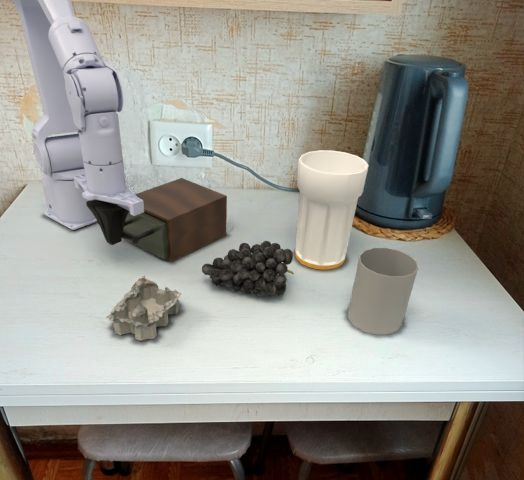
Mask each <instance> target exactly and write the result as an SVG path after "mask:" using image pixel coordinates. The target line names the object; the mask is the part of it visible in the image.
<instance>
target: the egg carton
mask: <svg viewBox="0 0 524 480" xmlns="http://www.w3.org/2000/svg"><path fill="white" fill-rule="evenodd" d="M181 295H182V292H179V291H178V290H176V289H174V290H172V289H170V288H169V287H168V286H165V287H164V289H161V288H159V285H158V283H156V282H155V281H153V280H150V279H148V278H146V276H145V275H143V276H141V278H140V277H139V278H138V279H137V280H136V281H135V282H134V283H133V285H131V289H130V291H128V292H126V293H125V295H124V296H123V298H122V299H121V300H120V301H119V302H117V303H116V304H115V306H114V307H113V309H112V311H110V314H108V315H107V316H105V318H106V319H109V321H111V322H112V328H113V329H114V334H116V335H119V336H122V335H124V334H133V335H134V337H135V338H134V339H135V340H136V341H140V342H141V341H145V340H154V339H155V338H156V337H157V335H158V333H157V328H158V327H166V326H167V325H168V324H169V315H177V314H178V313H179V312H180V303H179V302H180V300H179V298H180V297H181Z"/></svg>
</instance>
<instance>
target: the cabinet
mask: <svg viewBox="0 0 524 480" xmlns="http://www.w3.org/2000/svg"><path fill="white" fill-rule="evenodd" d="M134 194H135V195H136V196H137V197H138V198H140V199H142V200H143V203H144V212H147V213H149V214H151V215H153V216H155V217H157V218H160V219H162V220H164V221H166V222H167V231H168V246H169V257H168V258H166V259H165V260H166V261H169V263H174V262H175V261H178V260H180V259H182V258H185V257H186V256H188V255H190V254H192V253H193V252H196V251H199V250H200V249H202V248H205V247H206V246H208V245H210V244H212V243H215V242H217V241H219V240H220V239H223V238H225V237H227V225H228V224H227V219H228V218H227V216H228V215H227V213H228V211H227V209H228V196H227V195H225V194H224V193H221V192H219V191H216V190H213V189H211V188H208V187H206V186H203V185H201V184H199V183H196V182H193V181H191V180H188V179H186V178H184V177H180V178H177V179H175V180H172V181H169V182H165V183H163V184H161V185H157V186H155V187H151V188H149V189H146V190H144V191H140V192H137V193H134Z"/></svg>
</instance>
